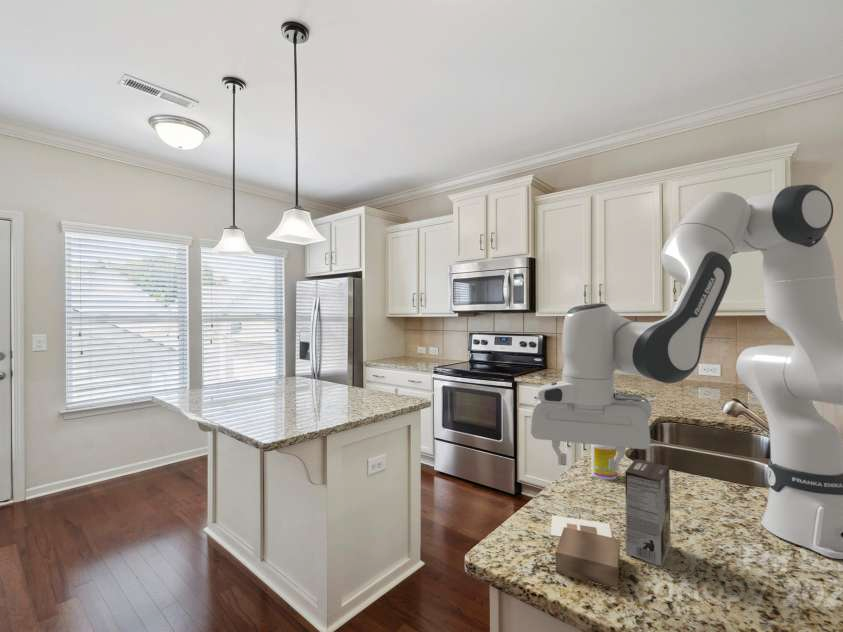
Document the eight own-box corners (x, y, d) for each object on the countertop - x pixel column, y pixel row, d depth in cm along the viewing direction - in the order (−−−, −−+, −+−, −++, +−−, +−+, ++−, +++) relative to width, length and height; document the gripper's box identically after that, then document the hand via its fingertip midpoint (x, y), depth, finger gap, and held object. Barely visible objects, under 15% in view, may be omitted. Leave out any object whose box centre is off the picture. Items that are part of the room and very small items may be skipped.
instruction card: (609, 524, 90) (609, 523, 90) (613, 546, 82) (613, 544, 82) (552, 516, 94) (552, 514, 94) (550, 535, 86) (550, 534, 86)
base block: (619, 560, 78) (619, 539, 78) (617, 591, 69) (617, 567, 69) (564, 547, 82) (564, 527, 82) (555, 574, 73) (555, 551, 73)
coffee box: (635, 535, 86) (635, 458, 86) (671, 546, 82) (670, 465, 82) (624, 555, 79) (623, 470, 79) (662, 568, 75) (661, 478, 75)
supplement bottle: (620, 481, 114) (620, 435, 114) (596, 481, 114) (596, 435, 114) (610, 472, 121) (609, 428, 121) (587, 472, 121) (587, 428, 121)
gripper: (648, 392, 75) (648, 468, 75) (532, 386, 82) (532, 455, 82) (654, 398, 69) (655, 481, 69) (529, 391, 76) (529, 466, 76)
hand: (587, 467), depth 76 cm, fingers open, 7 cm apart
